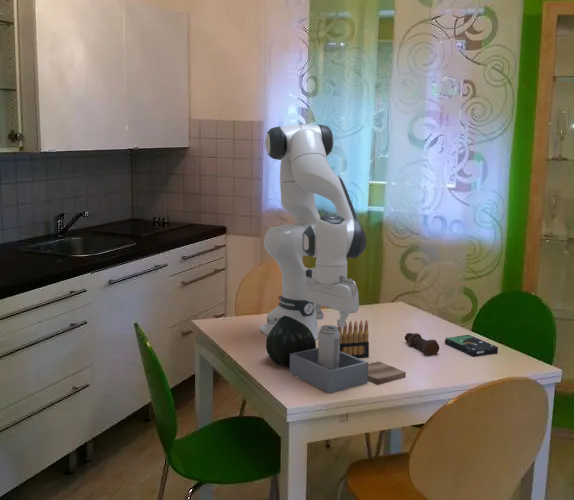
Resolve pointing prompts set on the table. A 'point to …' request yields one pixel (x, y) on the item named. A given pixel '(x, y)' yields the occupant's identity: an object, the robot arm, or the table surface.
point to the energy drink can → (329, 347)
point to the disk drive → (471, 345)
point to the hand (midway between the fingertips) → (330, 322)
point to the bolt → (422, 343)
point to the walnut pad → (383, 373)
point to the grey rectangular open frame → (329, 371)
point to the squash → (288, 340)
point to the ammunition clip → (355, 340)
